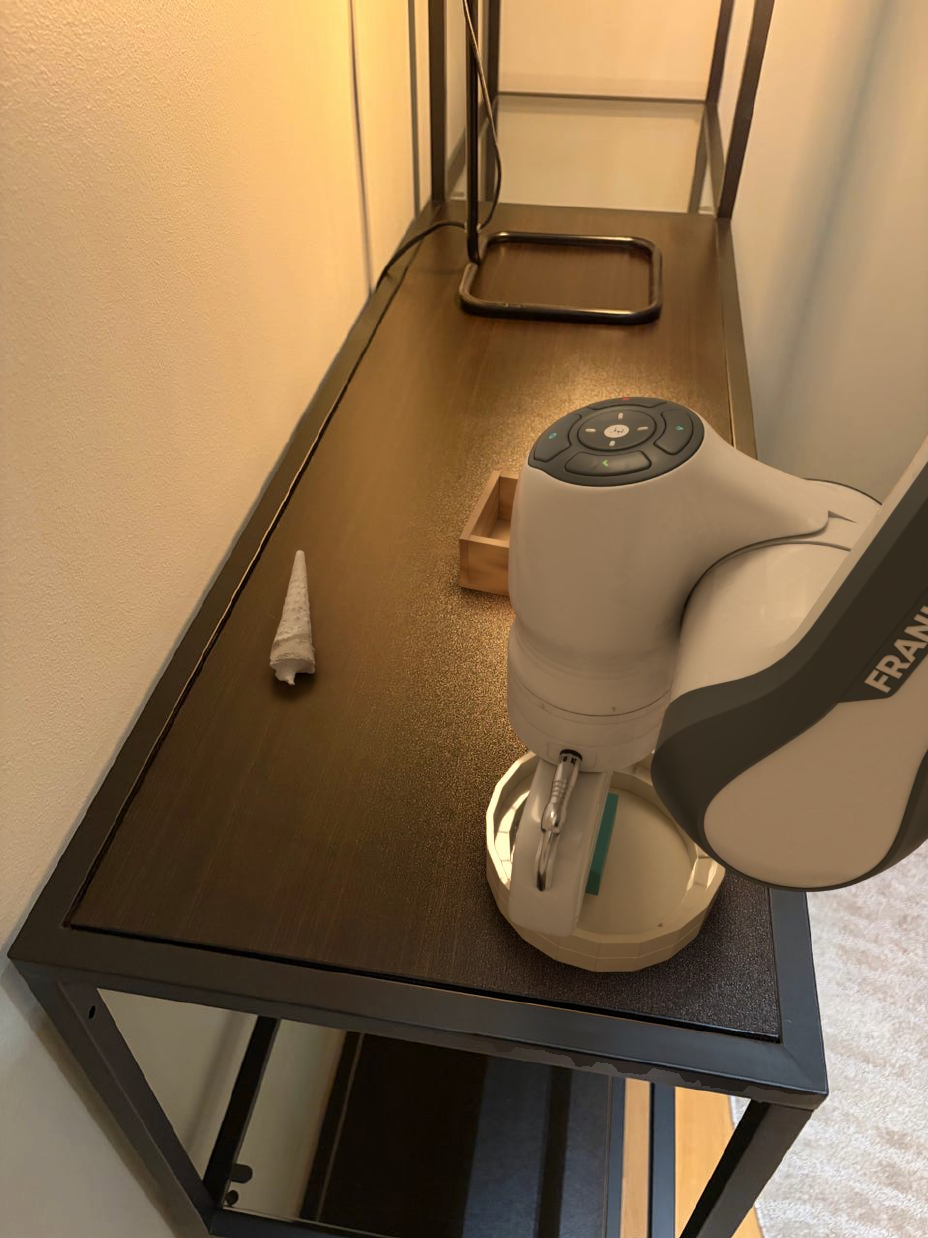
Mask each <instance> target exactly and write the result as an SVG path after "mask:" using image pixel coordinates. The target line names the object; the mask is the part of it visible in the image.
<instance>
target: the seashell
mask: <svg viewBox="0 0 928 1238" xmlns="http://www.w3.org/2000/svg"><path fill="white" fill-rule="evenodd" d="M308 586H309V585H308V574H307V564H306V557H305V552H304V551H303V550H300V549H299V550H297V551H296V552H295V556H294V561H293V564H292V568H291V575H290V579H289V583H288V585H287V587H288V589H287V590H286V592H287V593H286V597H285V598H284V605H283V607H282V614H281V619H280V621H279V624H278V626H277V629H276V633H275V637H274V640H273V642H272V645H271V647H270V654H269V655H270V656H269V667H270V668H272V669H273V670H275V673H274V676H275V677H276V679H278V681H282V682H283V681H284V682H286V683H287V684H288V685H289V686H295V685H296V683H295V682H294V681H295V677H296V674H297V673H303V674H304V673H307V674H315V672H316V668H315V665H316V662H315V652H316V649H315V648H314V646H313V638H312V636H313V634H312V623H311V611H310V607H311V604H310V602H309V587H308Z"/></svg>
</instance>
